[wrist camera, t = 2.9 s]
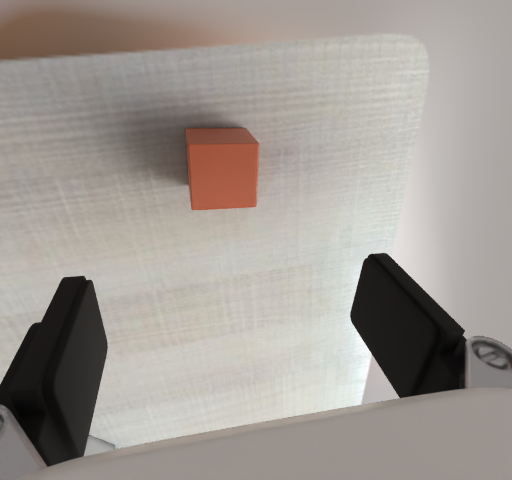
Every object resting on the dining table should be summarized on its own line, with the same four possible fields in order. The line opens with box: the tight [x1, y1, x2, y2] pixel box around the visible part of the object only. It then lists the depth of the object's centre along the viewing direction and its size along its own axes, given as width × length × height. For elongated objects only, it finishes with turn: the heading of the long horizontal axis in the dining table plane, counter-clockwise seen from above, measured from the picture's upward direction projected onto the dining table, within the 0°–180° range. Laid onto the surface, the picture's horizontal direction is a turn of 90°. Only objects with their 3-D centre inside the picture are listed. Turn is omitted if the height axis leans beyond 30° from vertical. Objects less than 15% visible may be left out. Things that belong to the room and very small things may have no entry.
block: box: [185, 128, 259, 210], centre depth 21 cm, size 4×4×4 cm
